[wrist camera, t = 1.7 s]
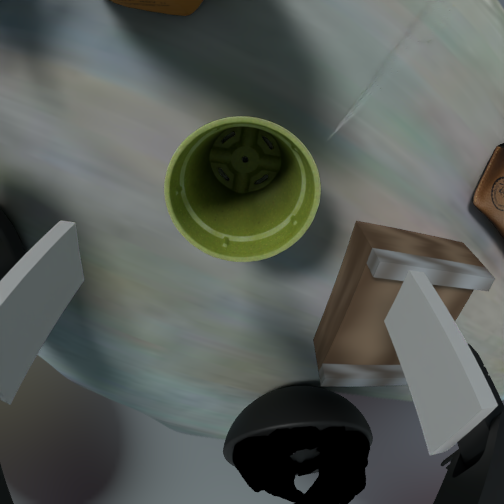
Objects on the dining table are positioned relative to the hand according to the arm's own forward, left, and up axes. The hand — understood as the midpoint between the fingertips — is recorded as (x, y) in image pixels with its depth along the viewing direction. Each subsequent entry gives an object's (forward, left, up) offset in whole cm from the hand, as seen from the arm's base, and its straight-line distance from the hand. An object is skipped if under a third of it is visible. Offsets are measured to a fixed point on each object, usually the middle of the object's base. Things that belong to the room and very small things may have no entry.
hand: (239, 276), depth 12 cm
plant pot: (0, 0, -17) cm, 17 cm away
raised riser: (+18, -12, -17) cm, 27 cm away
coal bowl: (+12, -33, -17) cm, 39 cm away
